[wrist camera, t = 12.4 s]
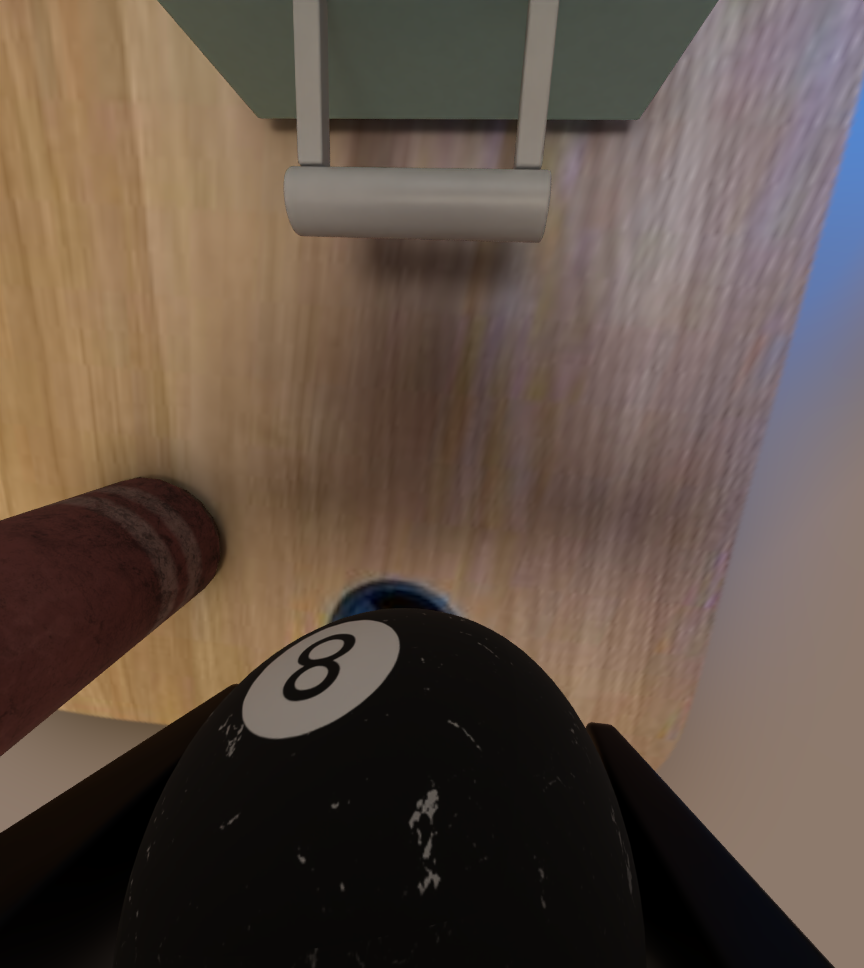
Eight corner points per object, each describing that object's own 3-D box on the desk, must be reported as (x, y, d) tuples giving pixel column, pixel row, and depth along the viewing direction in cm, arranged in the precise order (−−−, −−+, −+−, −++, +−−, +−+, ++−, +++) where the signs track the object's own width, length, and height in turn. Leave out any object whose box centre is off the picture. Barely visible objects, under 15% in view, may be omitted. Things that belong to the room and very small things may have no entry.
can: (137, 605, 21) (-467, 1033, 7) (85, 487, 19) (-800, 759, 6) (245, 588, 20) (-220, 1041, 7) (200, 463, 18) (-534, 721, 5)
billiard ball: (338, 807, 10) (143, 1449, 4) (238, 586, 8) (-295, 1077, 3) (598, 773, 9) (844, 1566, 3) (533, 514, 7) (758, 1062, 2)
